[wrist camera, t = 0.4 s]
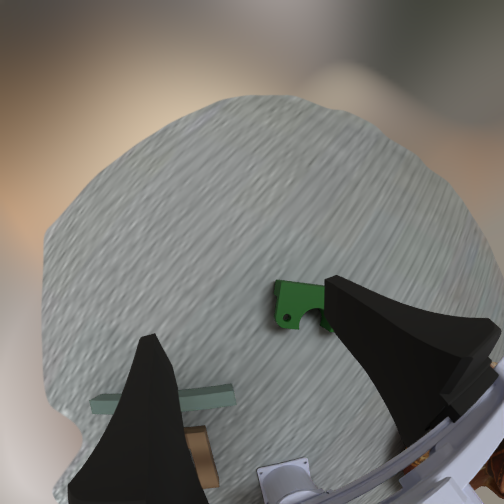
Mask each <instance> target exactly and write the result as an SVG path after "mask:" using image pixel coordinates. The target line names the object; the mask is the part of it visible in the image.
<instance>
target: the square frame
mask: <svg viewBox="0 0 504 504" xmlns="http://www.w3.org/2000/svg"><path fill="white" fill-rule="evenodd" d="M184 433H185V438H186V442H187V446H188V449H191V453H192V456H193V460H194V463H195V467H196V468H195V470H196V473H197V476H198V478H199V481H200V484H201V486H202V489H206V488H216V487H219V477H218V473H217V470H216V466H215V462H214V459H213V455H212V451H211V447H210V443H209V439H208V435H207V431H206V426H205V425H204V426H195V427H184Z"/></svg>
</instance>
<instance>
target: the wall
mask: <svg viewBox="0 0 504 504" xmlns="http://www.w3.org/2000/svg"><path fill="white" fill-rule="evenodd" d="M178 394H179V401H180V408H181V412H185V411H195V410H204V409H212V408H219V407H226V406H232V405H237V404H236V399H235V394H234V390H233V386H232V384H225V385H219V386H211V387H204V388H195V389H186V390H178ZM120 397H121V394H101V395H99V396H97V397H95V398H93V399H91V400H89V402H90V406H91V410H92V414H114V412H115V409H116V407H117V405H118V402H119V400H120Z"/></svg>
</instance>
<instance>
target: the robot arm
mask: <svg viewBox="0 0 504 504" xmlns="http://www.w3.org/2000/svg"><path fill="white" fill-rule="evenodd" d="M324 316H325V318H326V319H327V321H328V323H329V324H330V326H331V328H332V329H333V331H334V332H335V334H336V335H337V336H338V338H339V339H340V340H341V341H342V343H343V344H344V345H345V346H346V347H347V349H348V350H349V351H350V352H351V354H352V355H353V356H354V357H355V358H356V360H357V361H358V362H359V363H360V365H361V366H362V367H363V368H364V370H365V371H366V373H367V374H368V375H369V377H370V379H371V380H372V382H373V383H374V385H375V387H376V388H377V390H378V392H379V393H380V395H381V397H382V399H383V400H384V402H385V404H386V406H387V408H388V410H389V412H390V414H391V416H392V418H393V420H394V422H395V424H396V426H397V428H398V431H399V433H400V435H401V438H402V440H403V443H404V444H405V446H406V447H407V449H406V450H404V451H403V452H401V453H400V454H398V455H397V456H395V457H394V458H392V459H391V460H389V461H388V462H386V463H384V464H383V465H381V466H380V467H378V468H376V469H375V470H373V471H371V472H370V473H368V474H366V475H364V476H362V477H361V478H359V479H357V480H355V481H353V482H351V483H349V484H347V485H346V486H344V487H342V488H339V489H337V490H335V491H333V490H331V489H330V490H328V491H326V493H325V492H324V490H323V489H322V488H320V489H318V487H317V486H316V485H315V483H314V482H313V481H312V479H311V478H310V471H309V464H308V459H307V458H306V457H303V458H299V459H295V460H291V461H288V462H283V463H279V464H275V465H270V466H266V467H261V468H258V469H257V473H258V477H259V481H260V486H261V490H262V494H263V498H264V502H265V504H346V503H348V502H349V501H351V500H353V499H355V498H357V497H359V496H361V495H363V494H365V493H366V492H368V491H370V490H372V489H373V488H375V487H377V486H378V485H380V484H382V483H383V482H385V481H387V480H388V479H390V478H391V477H393V476H394V475H396V474H397V473H399V472H400V471H402V470H403V469H405V468H406V467H408V466H409V465H410V464H412V463H413V462H414V461H416V460H417V459H419V458H420V457H421V456H423V455H424V454H425V453H426V452H428V451H429V450H430V449H431V450H430V452H429V457H428V458H427V459H426V460H425V461H423V462H422V463H421V464H419V465H418V466H417V467H415V468H414V469H413V470H411V471H410V472H409V473H407V474H406V475H404V476H403V477H401V478H400V479H399V482H400V484H401V485H402V487H403V488H402V489H400V490H399V491H397V492H396V493H394V494H393V495H391V496H389V497H388V498H386V499H384V500H383V501H381V502H379V503H378V504H484V503H483V502H482V501H481V499H480V498H479V497H478V495H477V494H476V492H475V491H474V490H473V488H472V487H471V486H470V484H469V482H470V481H471V480H472V479H473V477H474V476H475V475H476V474H477V473H478V472H479V470H480V469H481V468H482V467H483V465H484V464H485V463H486V462H487V460H488V459H489V458H490V456H491V455H492V454H493V452H494V451H495V450H496V448H497V447H498V445H499V444H500V442H501V441H502V440H503V438H504V356H503V357H502V358H501V360H500V361H499V362H498V363H497V364H496V366H495V367H494V368H492V367H491V366H490V365H491V363H492V360H491V359H490V358H489V357H488V356H489V354H490V353H491V351H492V350H493V348H494V346H495V344H496V343H497V341H498V339H499V337H500V335H501V329H500V328H499V327H498V326H497V325H496V324H495V323H494V322H492V321H491V320H490V319H489V318H466V317H457V316H450V315H444V314H439V313H434V312H430V311H425V310H422V309H418V308H415V307H412V306H409V305H406V304H403V303H400V302H397V301H395V300H392V299H390V298H387V297H385V296H382V295H380V294H378V293H376V292H373V291H371V290H369V289H367V288H365V287H362V286H360V285H358V284H356V283H354V282H352V281H349V280H347V279H345V278H343V277H340V276H338V275H335V276H333V277H330V278H327V279H325V286H324ZM305 461H306V463H304V462H305ZM260 472H262V473H261V474H260ZM68 502H69V504H209V503H208V500H207V498H206V496H205V493H204V491H203V489H202V486H201V484H200V481H199V478H198V476H197V473H196V470H195V467H194V464H193V462H192V458H191V455H190V452H189V449H188V446H187V442H186V438H185V433H184V427H183V421H182V415H181V408H180V401H179V394H178V387H177V383H176V379H175V375H174V371H173V367H172V364H171V362H170V361H169V359H168V357H167V355H166V353H165V351H164V350H163V348H162V346H161V344H160V342H159V340H158V338H157V336H156V334H151V335H147V336H143V337H141V338H140V340H139V343H138V346H137V350H136V353H135V357H134V360H133V363H132V366H131V369H130V372H129V375H128V378H127V381H126V384H125V387H124V389H123V392H122V394H121V397H120V400H119V402H118V405H117V407H116V409H115V412H114V414H113V416H112V418H111V420H110V422H109V424H108V426H107V428H106V430H105V432H104V434H103V436H102V437H101V439H100V441H99V443H98V444H97V446H96V447H95V449H94V451H93V452H92V454H91V455H90V457H89V458H88V460H87V461H86V463H85V464H84V465H83V467H82V468H81V469H80V471H79V472H78V473H77V474H76V475H75V477H74V478H73V479H72V480H71V482H70V483H69V484H68ZM268 502H269V503H268Z"/></svg>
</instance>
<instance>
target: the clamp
mask: <svg viewBox="0 0 504 504" xmlns="http://www.w3.org/2000/svg"><path fill="white" fill-rule="evenodd" d="M274 295H276V296H277V302H276V308H275V315H274V318H275V321H276V322H277V324H278V325H279V326H280V327H282V328H288V329H299V322H300V319H301V317H302V316H303V315H304V313H305V312H307V311H308V310H310V309H313V308H319V310H320V312H321V316H322V318H321V323H320V326H322V327H323V328H325V329H326V330H328V331H329V332H334V331H333V329H332V328H331V326H330V324H329V323H328V321H327V319H326V318H325V316H324V286H323V285H315V284H307V283H300V282H292V281H284V280H276V282H275V289H274ZM285 314H289V318H288V319H287V320H283V316H284V315H285Z"/></svg>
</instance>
